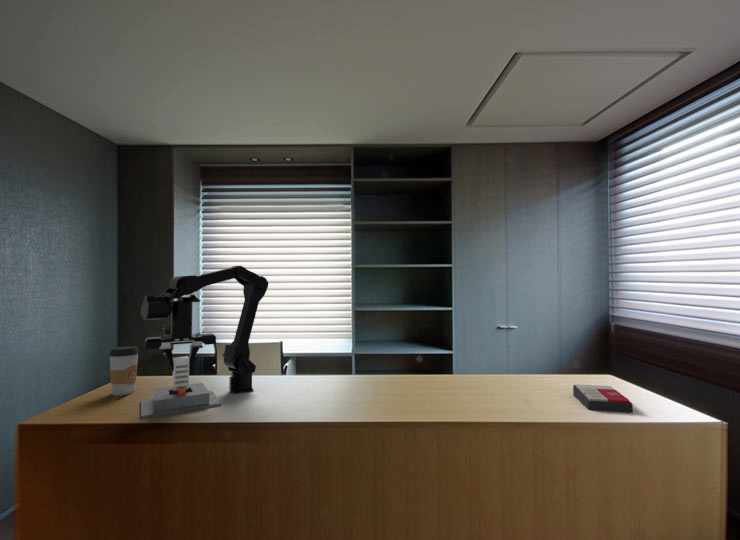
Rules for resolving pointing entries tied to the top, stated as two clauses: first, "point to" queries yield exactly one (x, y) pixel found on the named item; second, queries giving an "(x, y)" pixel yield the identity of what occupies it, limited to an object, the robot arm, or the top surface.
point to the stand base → (178, 400)
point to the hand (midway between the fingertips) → (180, 369)
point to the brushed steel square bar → (181, 373)
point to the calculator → (602, 398)
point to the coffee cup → (123, 369)
